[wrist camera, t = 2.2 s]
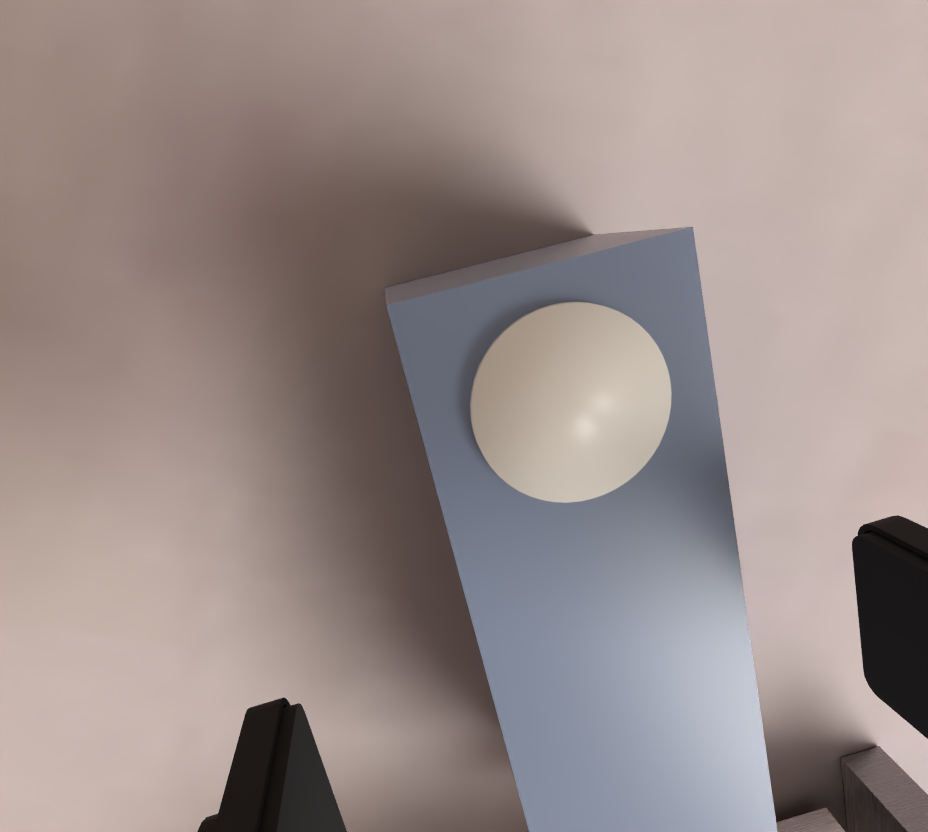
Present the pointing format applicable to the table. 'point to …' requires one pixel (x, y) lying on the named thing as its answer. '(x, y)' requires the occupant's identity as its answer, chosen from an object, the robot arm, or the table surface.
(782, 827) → the anvil plate
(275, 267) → the table surface
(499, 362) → the block
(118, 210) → the table surface
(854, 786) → the gauge frame
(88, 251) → the table surface
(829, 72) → the table surface
